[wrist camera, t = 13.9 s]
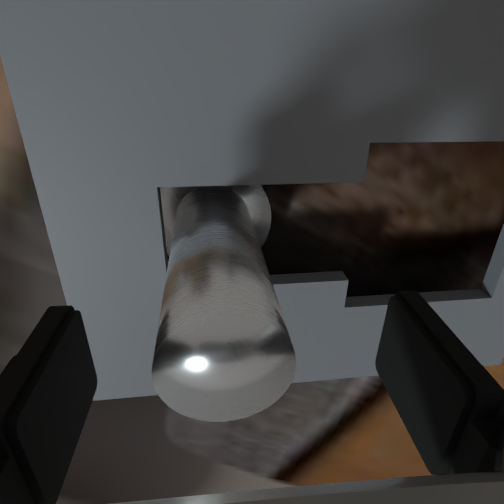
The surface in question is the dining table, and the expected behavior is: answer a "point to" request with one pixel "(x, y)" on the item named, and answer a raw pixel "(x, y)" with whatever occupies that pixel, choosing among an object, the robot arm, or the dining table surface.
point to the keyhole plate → (239, 145)
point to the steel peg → (219, 307)
